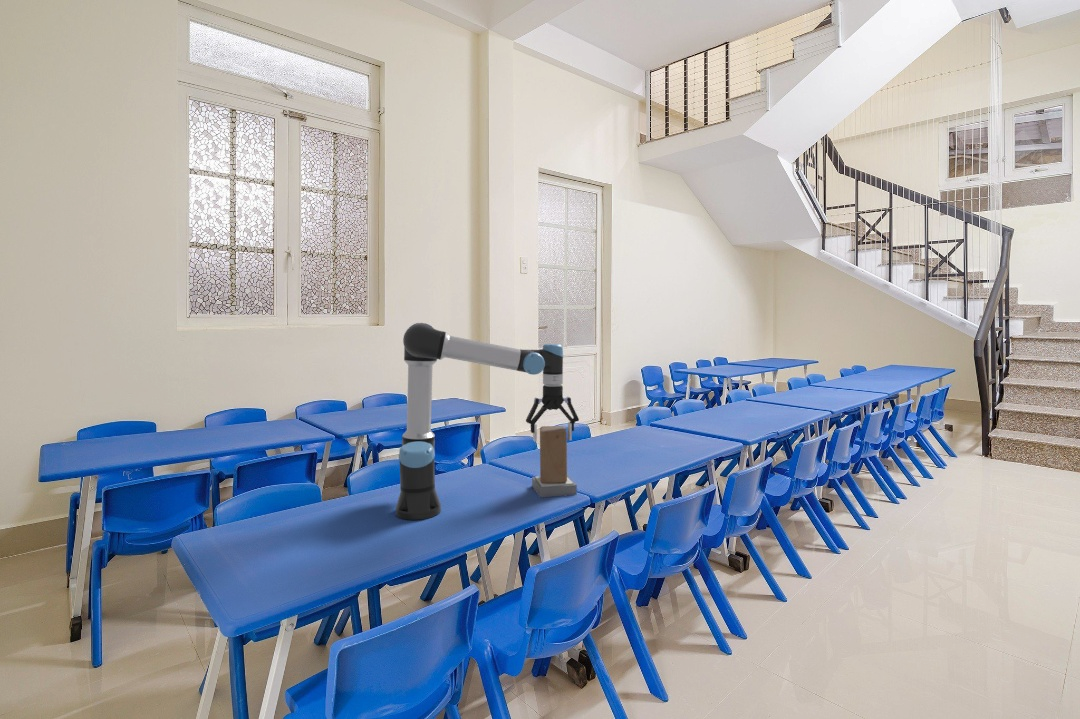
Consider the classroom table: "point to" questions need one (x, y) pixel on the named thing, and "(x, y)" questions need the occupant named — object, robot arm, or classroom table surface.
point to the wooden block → (553, 454)
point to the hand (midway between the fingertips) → (552, 440)
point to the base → (554, 488)
